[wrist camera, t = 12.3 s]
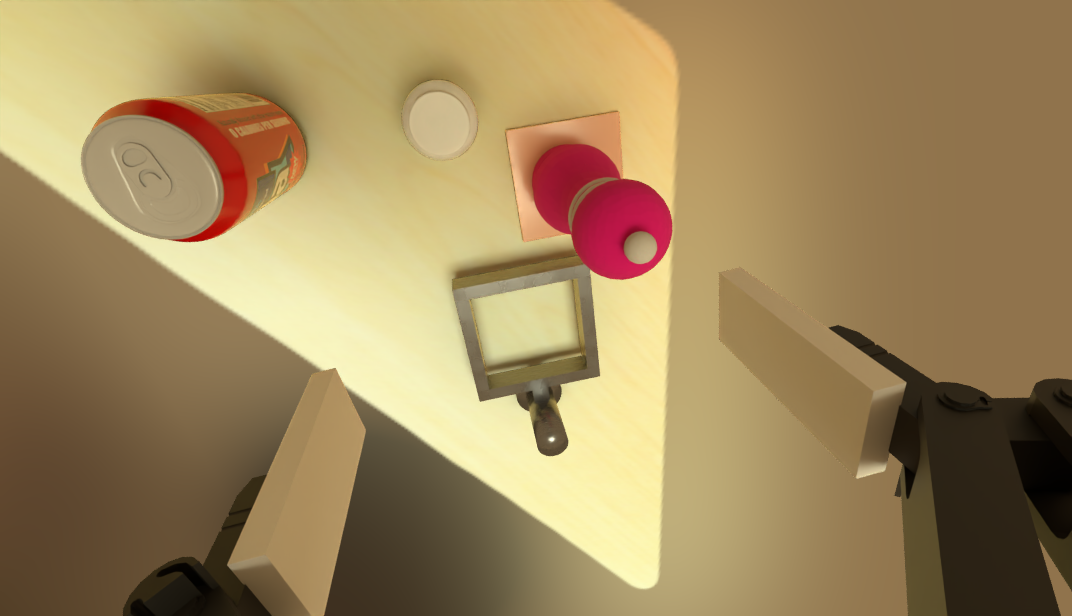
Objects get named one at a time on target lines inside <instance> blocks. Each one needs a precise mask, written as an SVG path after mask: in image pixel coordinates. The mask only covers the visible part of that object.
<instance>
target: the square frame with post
mask: <svg viewBox="0 0 1072 616" xmlns="http://www.w3.org/2000/svg"><path fill="white" fill-rule="evenodd" d="M572 279H573V286H574V295H575V304H576V312H577V321H578V330H579V338H580V347H581V356H578V357H573V358H568V359H564V360H559V361H554V362H549V363H544V364H540V365H535V366H530V367H525V368H521V369H516V370H511V371H506V372H501V373H497V374H492V375H488V374H487V370H486V365H485V361H484V356H483V352H482V348H481V343H480V339H479V335H478V330H477V326H476V322H475V317H474V313H473V308H472V304H471V300H470V299H475V298H480V297H485V296H490V295H495V294H500V293H505V292H511V291H516V290H521V289H526V288H531V287H536V286H541V285H546V284H551V283H556V282H562V281H567V280H572ZM452 291H453V295H454V299H455V303H456V307H457V311H458V315H459V319H460V323H461V327H462V331H463V335H464V339H465V343H466V347H467V352H468V356H469V360H470V364H471V368H472V372H473V376H474V380H475V384H476V388H477V392H478V396H479V400H480V402H481V401H485V400H490V399H495V398H499V397H504V396H509V395H513V394H516V395H517V400H518V402H519V404H520V406H521V407H522V408H524V409H525V410H527V411H529V412H530V416H531V421H532V425H533V429H534V434H535V438H536V443H537V447H538V450H539V451H540V453H542V454H543V455H546V456H555V455H558V454H560V453H562V452H563V451H564V450H565V449H566V448H567V446H568V438H567V435H566V432H565V428H564V425H563V422H562V419H561V416H560V413H559V410H558V406H557V403H558V401H559V399H560V397H561V392H562V391H561V386H560V384H565V383H570V382H574V381H579V380H584V379H588V378H593V377H598V376H600V371H599V360H598V350H597V339H596V329H595V319H594V308H593V298H592V288H591V277H590V269H589V268H588V267H587V266H586V265H585V264H584V263H583V262H582V260H581V259H580V257H579V256H578V255H577V256H572V257H566V258H561V259H556V260H551V261H546V262H540V263H535V264H530V265H525V266H520V267H514V268H509V269H504V270H499V271H494V272H488V273H483V274H478V275H473V276H468V277H462V278H457V279H452Z"/></svg>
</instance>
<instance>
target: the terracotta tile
mask: <svg viewBox="0 0 1072 616" xmlns="http://www.w3.org/2000/svg"><path fill="white" fill-rule="evenodd" d="M505 133H506V139H507V145H508V151H509V157H510V164H511V170H512V176H513V182H514V188H515V195H516V201H517V207H518V213H519V219H520V225H521V232H522V238H523V242H527V241H532V240H537V239H543V238H548V237H553V236H558V235H564V234H565V233H562V232H560V231H558V230H556V229H554V228H553V227H551V226H550V225H549V224H548V223H547V222H546V221H545V220H544V219H543V218H542V217H541V215H540V214H539V212H538V210H537V208H536V205H535V201H534V196H533V188H532V176H533V171H534V168H535V166H536V164H537V162H538V160H539V159H540V158H541V156H542V155H543V154H544V153H545V152H547V151H548V150H550V149H551V148H553V147H556V146H559V145H563V144H586V145H590V146H593V147H595V148H597V149H599V150H601V151H602V152H603V153H605V154H606V155H607V156H608V157H609V158H610V159H611V160H612V161H613V163H614V164H615V165H616V167H617V169H618V171H619V174H620V178H621V179H623V170H622V152H621V134H620V116H619V112H618V111H616V112H610V113H605V114H599V115H593V116H587V117H581V118H575V119H569V120H563V121H557V122H551V123H546V124H540V125H534V126H528V127H522V128H516V129H510V130H505Z"/></svg>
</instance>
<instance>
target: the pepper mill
mask: <svg viewBox="0 0 1072 616" xmlns="http://www.w3.org/2000/svg"><path fill="white" fill-rule="evenodd" d="M532 188H533V196H534V201H535V205H536V208H537V210H538V212H539V214H540V215H541V217H542V218H543V219H544V220H545V221H546V222H547V223H548V224H549V225H550V226H551V227H553V228H554V229H556V230H558V231H560V232H562V233H565V234H571V236H572V240H573V245H574V248H575V251H576V253H577V254H578V256H579V257H580V259H581V260H582V262H583V263H584V264H585V265H586V266H587V267H588V268H589V269H591V270H592V271H593V272H595V273H597V274H599V275H601V276H604V277H607V278H610V279H620V280H623V279H630V278H634V277H637V276H640V275H642V274H644V273H646V272H648V271H649V270H651V269H652V268H654V267H655V266H656V265H657V264H658V262H659V261H660V260H661V259H662V258H663V256H664V255H665V253H666V251H667V249H668V247H669V244H670V240H671V236H672V219H671V214H670V211H669V209H668V207H667V205H666V203H665V201H664V200H663V198H662V197H661V196H660V195H659V194H658V193H657V192H656V191H655V190H654V189H652V188H651V187H650V186H648V185H646V184H644V183H642V182H639V181H634V180H628V179H621V178H620V174H619V171H618V169H617V167H616V165H615V164H614V163H613V161H612V160H611V159H610V158H609V157H608V156H607V155H606V154H605V153H603V152H602V151H601V150H599V149H597V148H595V147H593V146H590V145H586V144H563V145H559V146H556V147H553V148H551V149H550V150H548V151H547V152H545V153H544V154H543V155H542V156H541V158H540V159H539V160H538V162H537V164H536V166H535V168H534V171H533V176H532Z"/></svg>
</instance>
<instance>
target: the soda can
mask: <svg viewBox="0 0 1072 616" xmlns="http://www.w3.org/2000/svg"><path fill="white" fill-rule="evenodd" d="M306 158H307V154H306V146H305V142H304V139H303V136H302V134H301V132H300V130H299V128H298V126H297V125H296V123H295V122H294V120H293V119H292V118H291V117H290V116H289V115H288V114H287V113H286V112H285V111H284V110H283V109H282V108H280V107H279V106H278V105H276V104H275V103H273V102H271V101H269V100H267V99H265V98H263V97H260V96H257V95H253V94H248V93H223V94H207V95H192V96H176V97H160V98H145V99H137V100H131V101H127V102H124V103H121V104H119V105H117V106H115V107H113V108H111V109H110V110H108V111H107V112H105V113H104V114H103V115H102V116H101V117H100V118H99V119H98V120H97V122H96V123H95V125H94V127H93V128H92V131H91V133H90V134H89V135H88V137H87V139H86V140H85V143H84V145H83V149H82V154H81V166H82V172H83V176H84V179H85V182H86V184H87V186H88V188H89V190H90V192H91V194H92V195H93V197H94V198H95V200H96V201H97V202H98V203H99V205H100V206H101V207H102V208H103V209H104V210H105V211H106V212H107V213H108V214H109V215H110V216H112V217H113V218H114V219H115V220H117V221H118V222H120V223H121V224H123V225H124V226H126V227H128V228H130V229H131V230H133V231H136V232H138V233H140V234H143V235H146V236H150V237H154V238H159V239H167V240H172V241H179V242H198V241H204V240H208V239H212V238H215V237H218V236H220V235H222V234H224V233H225V232H227V231H229V230H230V229H232V228H233V227H235V226H236V225H238V224H239V223H241V222H242V221H244V220H245V219H247V218H248V217H250V216H251V215H253V214H254V213H256V212H257V211H259V210H260V209H262V208H263V207H265V206H266V205H268V204H269V203H271V202H272V201H273V200H275V199H276V198H278V197H279V196H281V195H282V194H284V193H285V192H287V191H288V190H290V189H291V188H292V187H293V186H294V185H295V184H296V183H297V182H298V181H299V179H300V178H301V176H302V174H303V172H304V169H305V165H306Z"/></svg>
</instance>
